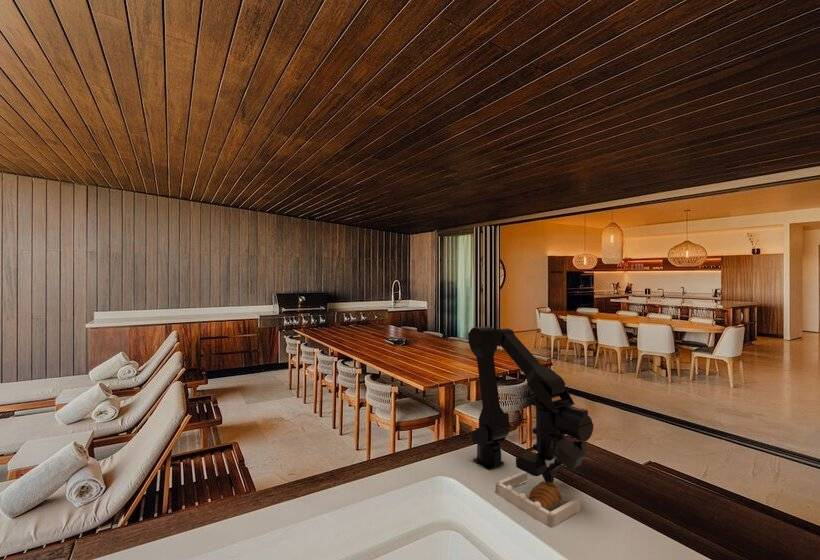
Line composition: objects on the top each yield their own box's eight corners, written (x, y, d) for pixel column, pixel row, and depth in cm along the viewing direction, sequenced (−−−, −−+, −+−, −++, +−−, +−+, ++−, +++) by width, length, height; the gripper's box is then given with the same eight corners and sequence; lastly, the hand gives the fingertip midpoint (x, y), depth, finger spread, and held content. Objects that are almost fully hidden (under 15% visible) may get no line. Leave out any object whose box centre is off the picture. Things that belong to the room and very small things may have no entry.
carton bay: (494, 492, 94) (494, 479, 94) (524, 480, 101) (524, 467, 101) (550, 528, 81) (550, 512, 81) (580, 510, 88) (580, 496, 88)
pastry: (550, 520, 84) (550, 503, 84) (521, 508, 88) (521, 492, 88) (564, 501, 91) (564, 485, 91) (536, 491, 95) (536, 475, 95)
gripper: (555, 449, 82) (556, 520, 82) (599, 426, 93) (600, 488, 93) (513, 432, 91) (515, 496, 91) (558, 412, 102) (559, 469, 102)
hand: (549, 487), depth 94 cm, fingers closed
